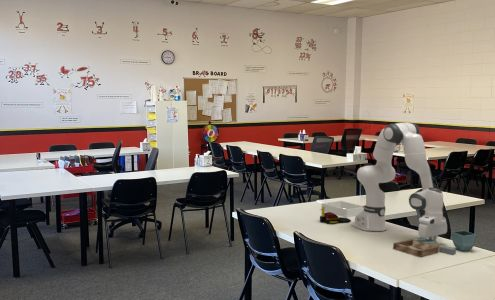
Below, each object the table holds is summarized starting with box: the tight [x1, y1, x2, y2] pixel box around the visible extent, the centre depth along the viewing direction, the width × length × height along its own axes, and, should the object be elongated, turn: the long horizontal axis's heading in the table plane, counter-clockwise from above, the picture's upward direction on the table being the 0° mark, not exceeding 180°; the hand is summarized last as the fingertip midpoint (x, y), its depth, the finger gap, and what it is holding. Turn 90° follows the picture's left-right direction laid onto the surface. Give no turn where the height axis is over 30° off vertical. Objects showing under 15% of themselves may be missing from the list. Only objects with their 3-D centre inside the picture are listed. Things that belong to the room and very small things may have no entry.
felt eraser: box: [438, 245, 457, 256], centre depth 249 cm, size 7×4×3 cm, turn 41°
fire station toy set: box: [319, 206, 352, 225], centre depth 312 cm, size 14×20×11 cm
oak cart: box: [411, 237, 439, 250], centre depth 257 cm, size 10×8×5 cm
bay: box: [392, 239, 440, 258], centre depth 252 cm, size 17×14×3 cm
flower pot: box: [451, 230, 477, 252], centre depth 254 cm, size 9×9×9 cm
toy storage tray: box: [321, 200, 365, 218], centre depth 338 cm, size 25×19×6 cm
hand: (432, 243), depth 259 cm, fingers closed
